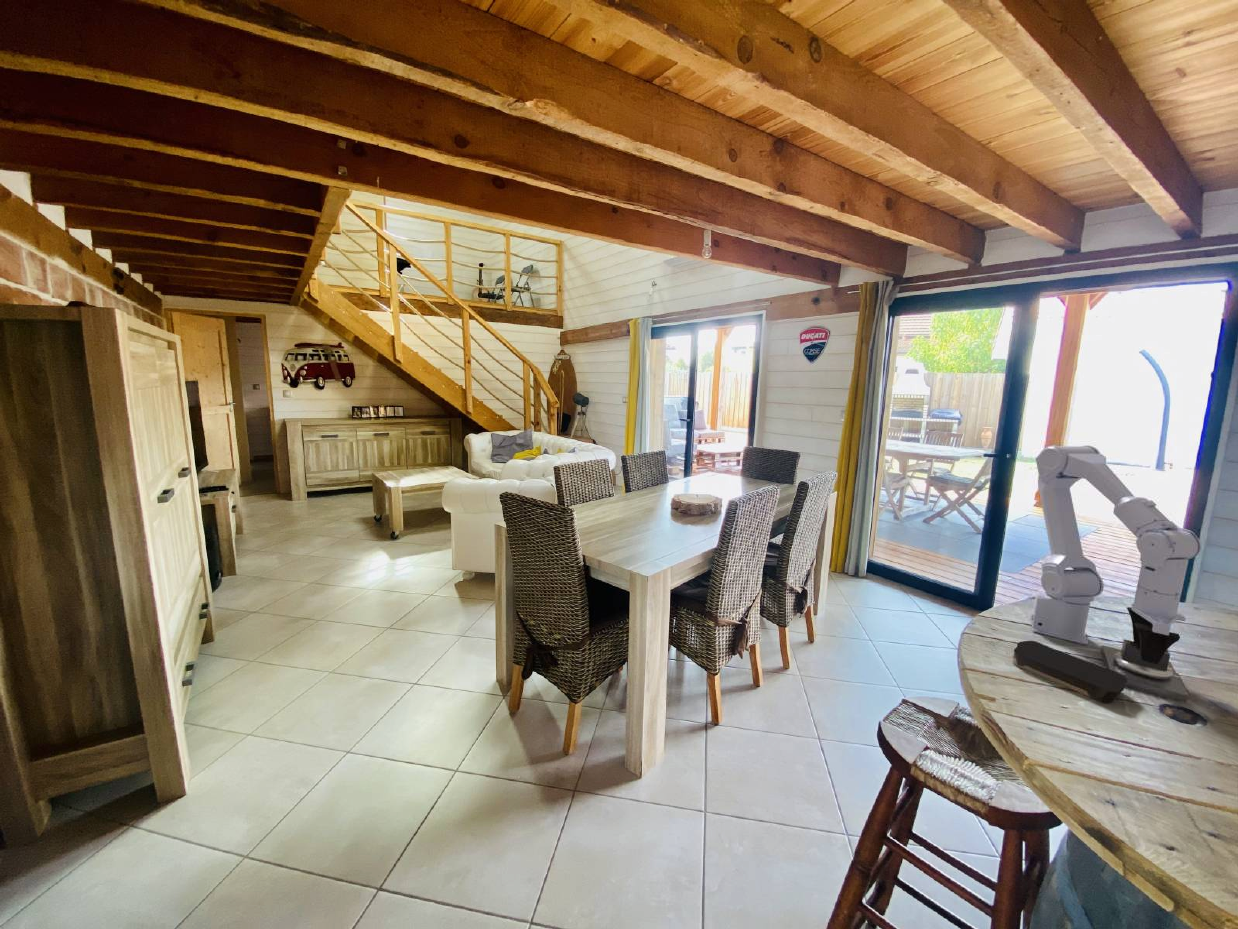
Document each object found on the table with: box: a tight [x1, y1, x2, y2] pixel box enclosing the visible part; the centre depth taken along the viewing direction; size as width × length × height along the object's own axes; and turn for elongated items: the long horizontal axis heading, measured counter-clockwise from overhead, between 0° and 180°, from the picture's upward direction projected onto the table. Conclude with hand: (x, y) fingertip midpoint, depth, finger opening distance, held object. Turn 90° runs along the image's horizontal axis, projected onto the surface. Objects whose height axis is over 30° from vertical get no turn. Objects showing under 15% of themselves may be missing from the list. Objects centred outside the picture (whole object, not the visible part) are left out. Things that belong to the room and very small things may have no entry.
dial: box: [1114, 638, 1173, 679], centre depth 96 cm, size 8×8×4 cm
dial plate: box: [1100, 644, 1190, 704], centre depth 96 cm, size 10×14×2 cm
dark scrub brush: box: [1012, 640, 1127, 704], centre depth 96 cm, size 16×8×4 cm, turn 29°
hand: (1145, 653), depth 96 cm, fingers open, 7 cm apart
